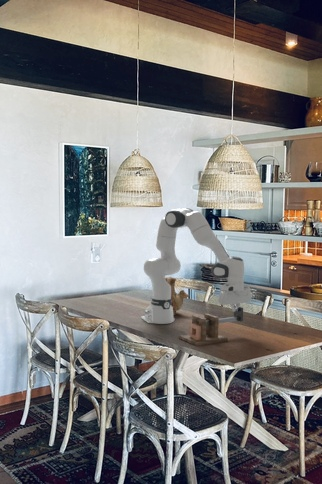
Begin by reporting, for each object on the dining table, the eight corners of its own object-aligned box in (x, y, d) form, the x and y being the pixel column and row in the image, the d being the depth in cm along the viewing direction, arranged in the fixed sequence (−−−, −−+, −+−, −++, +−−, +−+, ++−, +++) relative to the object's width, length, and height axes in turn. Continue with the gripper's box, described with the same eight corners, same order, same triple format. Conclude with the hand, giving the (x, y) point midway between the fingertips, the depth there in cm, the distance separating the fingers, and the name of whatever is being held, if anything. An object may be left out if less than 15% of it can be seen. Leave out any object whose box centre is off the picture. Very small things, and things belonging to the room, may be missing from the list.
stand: (179, 338, 278) (179, 315, 277) (209, 334, 288) (210, 311, 287) (196, 345, 264) (197, 321, 263) (227, 340, 275) (228, 317, 274)
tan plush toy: (189, 314, 337) (190, 276, 335) (168, 318, 325) (168, 278, 323) (170, 310, 351) (171, 273, 349) (149, 313, 338) (149, 275, 336)
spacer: (189, 336, 276) (190, 323, 276) (193, 336, 277) (193, 323, 277) (197, 339, 270) (197, 326, 270) (200, 339, 271) (200, 326, 271)
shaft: (199, 323, 278) (199, 309, 278) (235, 319, 291) (236, 305, 290) (206, 326, 273) (206, 312, 272) (242, 321, 286) (243, 307, 285)
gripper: (246, 284, 293) (245, 308, 294) (217, 286, 283) (216, 312, 284) (254, 285, 288) (253, 310, 289) (224, 288, 277) (223, 314, 278)
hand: (234, 311), depth 286 cm, fingers closed
